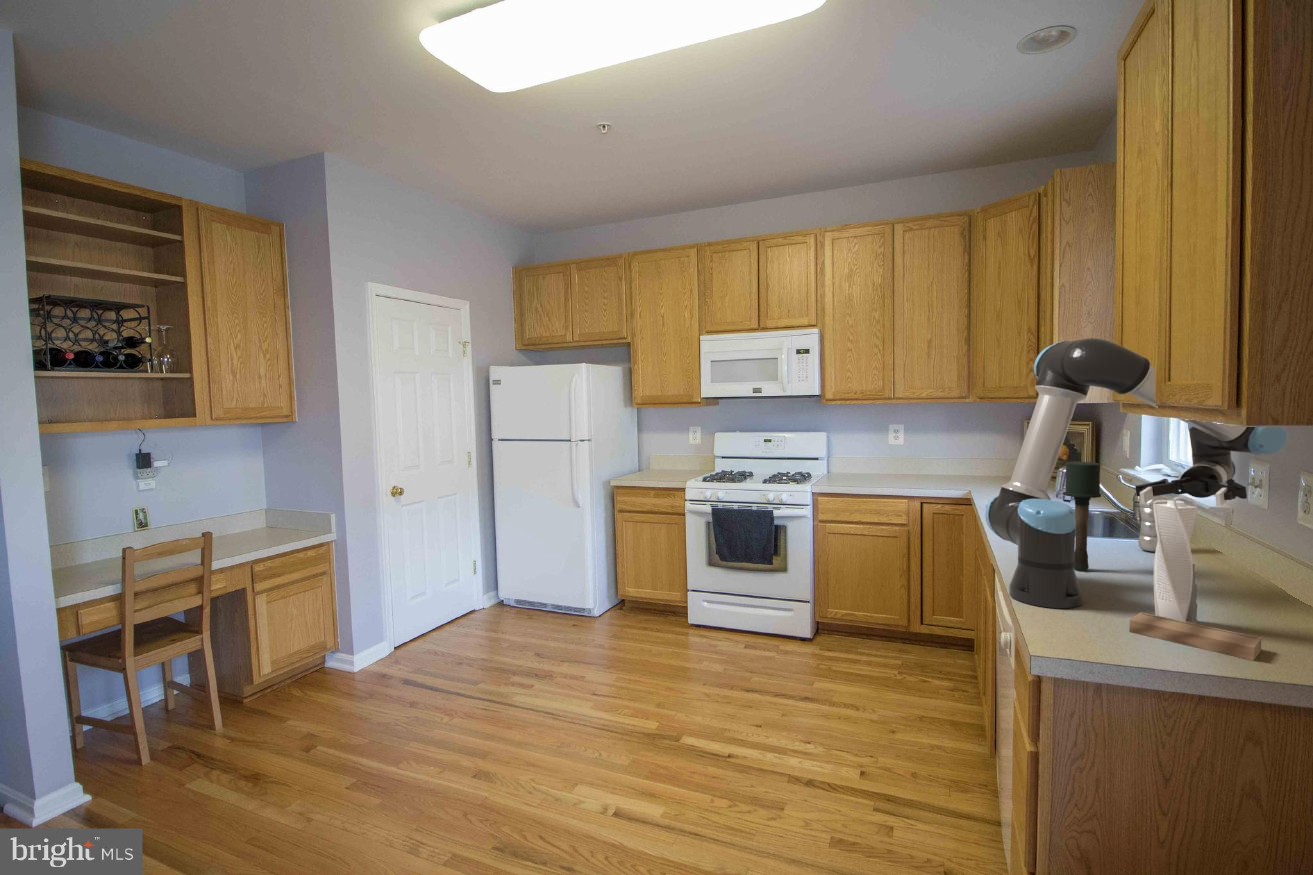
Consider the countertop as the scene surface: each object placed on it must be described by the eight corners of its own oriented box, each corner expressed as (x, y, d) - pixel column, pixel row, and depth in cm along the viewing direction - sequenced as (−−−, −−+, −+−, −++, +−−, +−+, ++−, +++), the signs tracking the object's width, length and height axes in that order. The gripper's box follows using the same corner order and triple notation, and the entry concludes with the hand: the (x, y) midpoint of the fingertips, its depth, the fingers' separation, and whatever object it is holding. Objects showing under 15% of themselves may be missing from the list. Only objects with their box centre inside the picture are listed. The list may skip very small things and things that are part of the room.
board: (1129, 631, 131) (1129, 619, 131) (1140, 623, 135) (1140, 611, 135) (1253, 660, 116) (1254, 646, 116) (1261, 650, 121) (1261, 637, 120)
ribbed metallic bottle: (1163, 555, 188) (1165, 489, 187) (1135, 551, 193) (1137, 486, 192) (1167, 551, 193) (1169, 486, 191) (1140, 547, 198) (1142, 484, 196)
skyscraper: (1200, 633, 130) (1204, 498, 128) (1150, 625, 134) (1153, 495, 132) (1196, 620, 136) (1201, 492, 134) (1149, 613, 141) (1152, 490, 139)
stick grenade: (1106, 574, 171) (1109, 464, 169) (1074, 574, 171) (1077, 465, 169) (1086, 565, 180) (1088, 461, 177) (1055, 566, 180) (1057, 461, 178)
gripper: (1274, 496, 146) (1255, 518, 133) (1143, 493, 166) (1115, 512, 153) (1271, 464, 145) (1251, 483, 133) (1140, 465, 165) (1112, 482, 153)
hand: (1178, 499), depth 143 cm, fingers open, 13 cm apart
